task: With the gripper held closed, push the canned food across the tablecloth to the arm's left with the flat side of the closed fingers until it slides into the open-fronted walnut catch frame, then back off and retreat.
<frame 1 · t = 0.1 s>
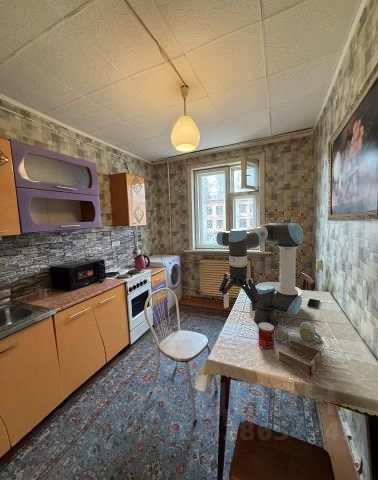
hand: (238, 311, 90), 28 cm above the table, fingers open, 13 cm apart
canned food: (266, 345, 110), on the table
bowl: (277, 307, 153), on the table
catch frame: (299, 360, 97), on the table
ceramic mug: (310, 338, 114), on the table
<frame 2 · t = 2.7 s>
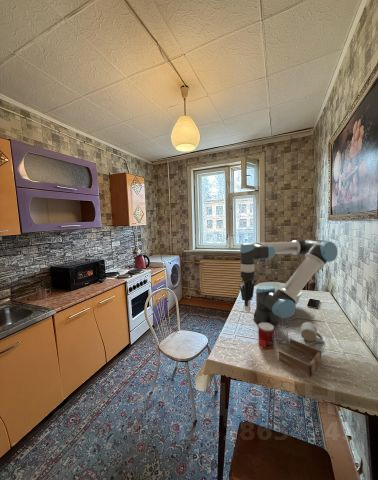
hand: (247, 310, 116), 16 cm above the table, fingers closed
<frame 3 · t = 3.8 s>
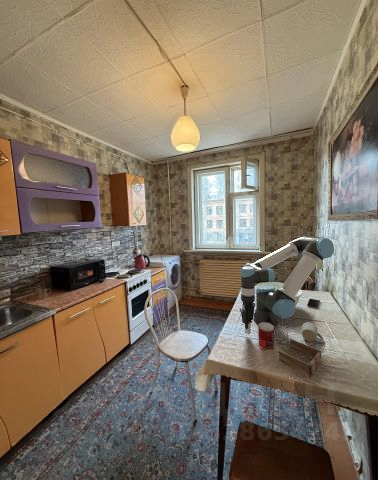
hand: (247, 333, 118), 2 cm above the table, fingers closed
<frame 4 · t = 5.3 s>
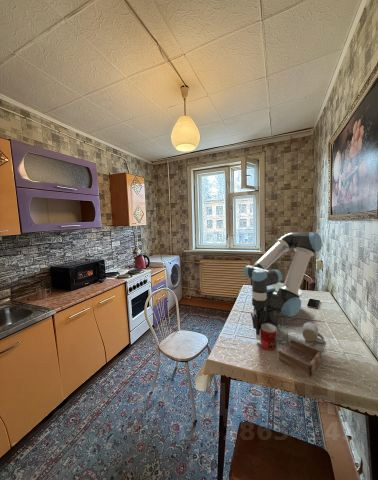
hand: (258, 339, 112), 2 cm above the table, fingers closed
canned food: (268, 346, 109), on the table, touching gripper
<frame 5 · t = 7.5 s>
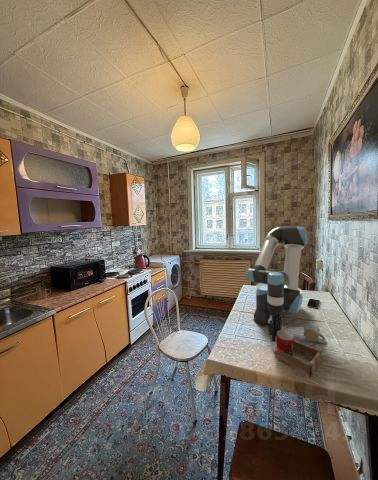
hand: (274, 346, 106), 2 cm above the table, fingers closed
canned food: (284, 355, 102), on the table, touching gripper
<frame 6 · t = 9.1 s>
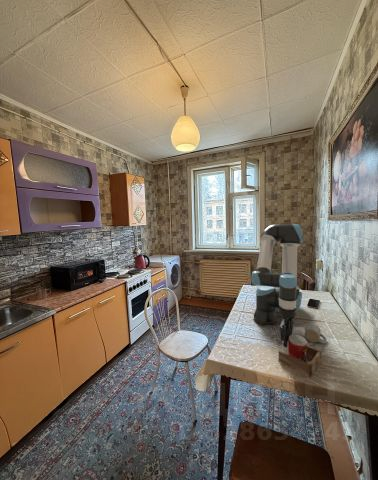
hand: (286, 351, 101), 2 cm above the table, fingers closed
canned food: (297, 361, 97), on the table, touching gripper
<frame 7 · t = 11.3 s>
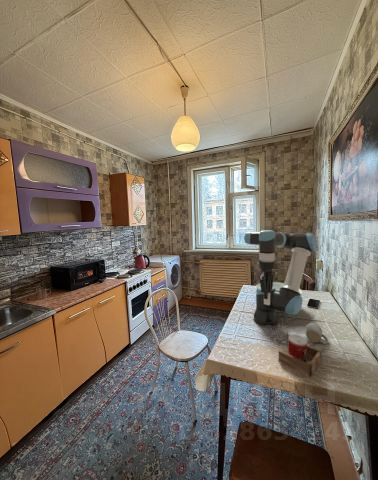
hand: (266, 304, 107), 23 cm above the table, fingers closed
canned food: (297, 361, 97), on the table
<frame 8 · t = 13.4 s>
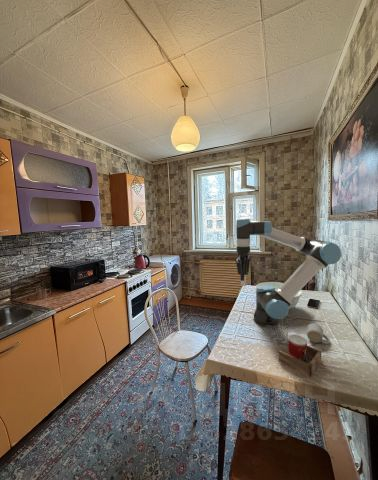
hand: (243, 285, 119), 29 cm above the table, fingers closed
at the end: canned food inside the target area on the catch frame (1.1 cm from its centre), point 0.0 cm above the catch frame's base; canned food tilted 0° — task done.
